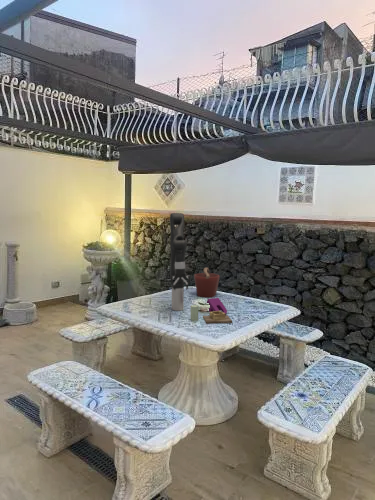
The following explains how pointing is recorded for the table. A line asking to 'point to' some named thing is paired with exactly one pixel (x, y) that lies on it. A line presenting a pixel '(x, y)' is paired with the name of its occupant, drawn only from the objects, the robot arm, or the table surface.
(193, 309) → the rail post
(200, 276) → the bucket
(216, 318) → the cup bracket
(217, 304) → the mounting bracket
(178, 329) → the table surface
